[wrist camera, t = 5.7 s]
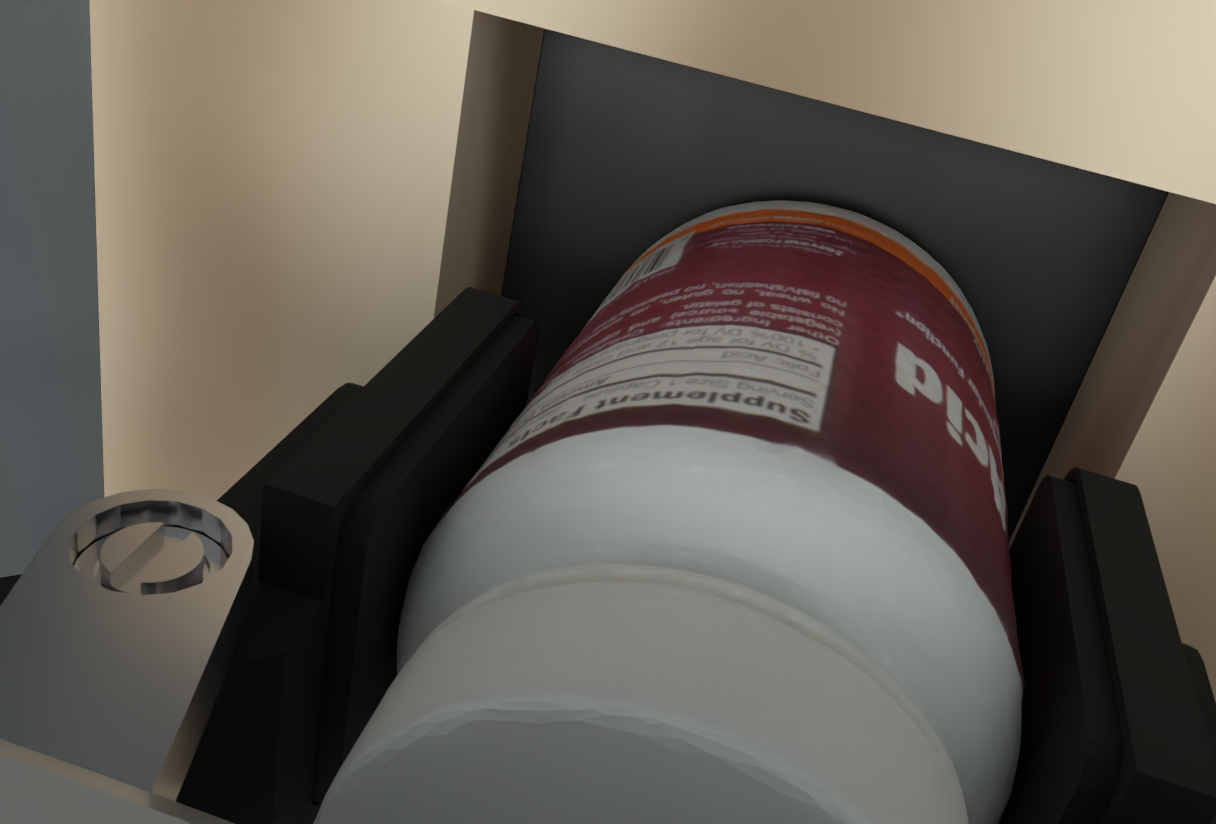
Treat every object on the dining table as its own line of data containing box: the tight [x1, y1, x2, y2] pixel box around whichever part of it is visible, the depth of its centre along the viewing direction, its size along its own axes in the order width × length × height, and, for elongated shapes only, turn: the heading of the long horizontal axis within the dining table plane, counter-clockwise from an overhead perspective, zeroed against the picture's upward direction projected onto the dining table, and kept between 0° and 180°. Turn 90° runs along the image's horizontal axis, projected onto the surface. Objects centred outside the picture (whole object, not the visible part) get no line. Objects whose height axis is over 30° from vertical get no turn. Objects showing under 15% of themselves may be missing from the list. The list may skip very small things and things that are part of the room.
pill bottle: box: [314, 200, 1025, 824], centre depth 10 cm, size 5×5×8 cm
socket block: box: [90, 0, 1216, 702], centre depth 13 cm, size 15×15×2 cm
